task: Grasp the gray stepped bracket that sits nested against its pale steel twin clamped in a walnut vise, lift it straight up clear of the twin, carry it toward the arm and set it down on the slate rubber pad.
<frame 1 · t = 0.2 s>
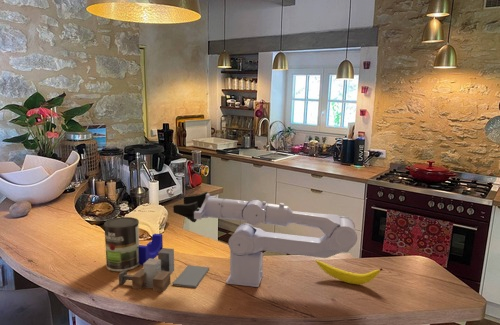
hand: (179, 204, 108), 21 cm above the countertop, tool horizontal, fingers open, 7 cm apart
gray stepped bracket: (166, 272, 111), on the countertop
vise: (151, 286, 103), on the countertop
pad: (191, 276, 108), on the countertop
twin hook: (152, 284, 103), resting in vise
blue cradle bracket: (148, 257, 122), on the countertop, touching coffee can
coffee can: (123, 264, 116), on the countertop, touching blue cradle bracket
banana: (346, 283, 106), on the countertop
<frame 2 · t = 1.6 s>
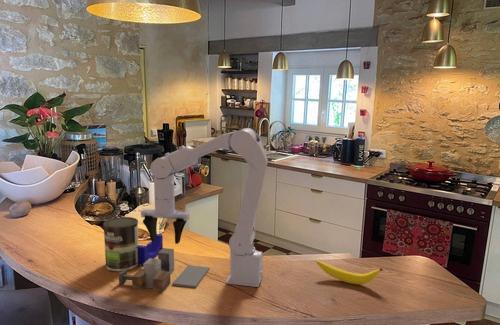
hand: (165, 241, 109), 10 cm above the countertop, tool pointing down, fingers open, 7 cm apart
coffee can: (123, 264, 116), on the countertop, touching blue cradle bracket
everything else where it was.
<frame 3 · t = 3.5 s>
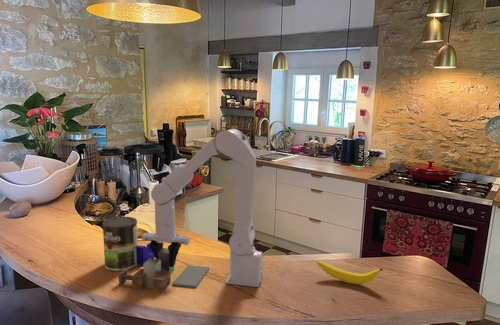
hand: (166, 264, 111), 2 cm above the countertop, tool pointing down, fingers closed on gray stepped bracket, 3 cm apart
gray stepped bracket: (166, 272, 111), on the countertop, touching gripper
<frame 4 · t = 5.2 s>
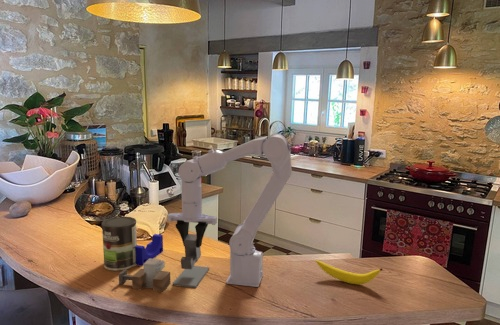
hand: (192, 245, 108), 9 cm above the countertop, tool pointing down, fingers closed on gray stepped bracket, 3 cm apart
gray stepped bracket: (193, 258, 109), point 5 cm above the countertop, tilted 8°, touching gripper
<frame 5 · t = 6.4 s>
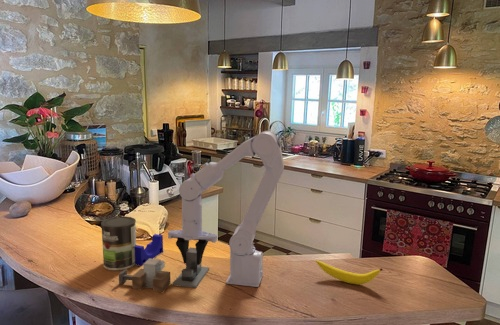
hand: (192, 262, 109), 4 cm above the countertop, tool pointing down, fingers closed on gray stepped bracket, 3 cm apart
gray stepped bracket: (193, 272, 110), point 1 cm above the countertop, touching gripper, pad
everything else where it was.
when the fingers open (4 cm above the countertop, at t = 7.0 s): gray stepped bracket stays where it is, resting on pad.
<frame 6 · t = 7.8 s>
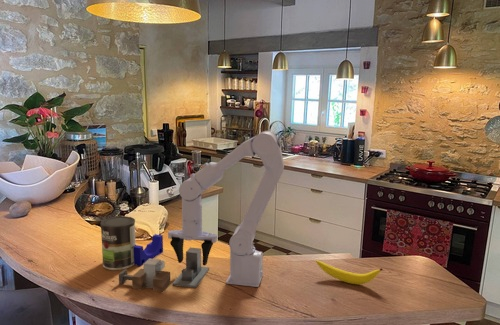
hand: (192, 262, 109), 4 cm above the countertop, tool pointing down, fingers open, 7 cm apart
gray stepped bracket: (193, 272, 110), point 1 cm above the countertop, touching pad
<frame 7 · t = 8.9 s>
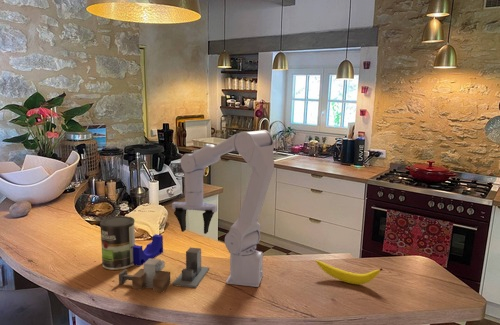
hand: (194, 231, 118), 10 cm above the countertop, tool pointing down, fingers open, 7 cm apart
coffee can: (119, 263, 117), on the countertop, touching blue cradle bracket
everything else where it was.
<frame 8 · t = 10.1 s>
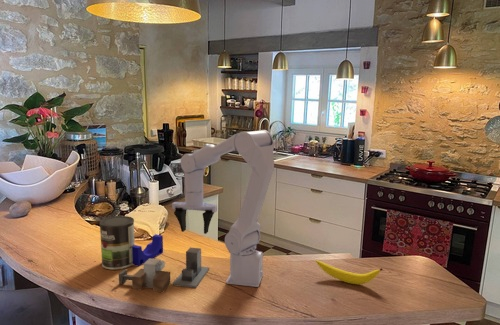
hand: (194, 231, 118), 10 cm above the countertop, tool pointing down, fingers open, 7 cm apart
coffee can: (119, 263, 117), on the countertop, touching blue cradle bracket
everything else where it was.
at the end: gray stepped bracket inside the target area on the pad (1.9 cm from its centre), point 0.6 cm above the pad's base; gray stepped bracket touching pad; the gripper is holding nothing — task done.
